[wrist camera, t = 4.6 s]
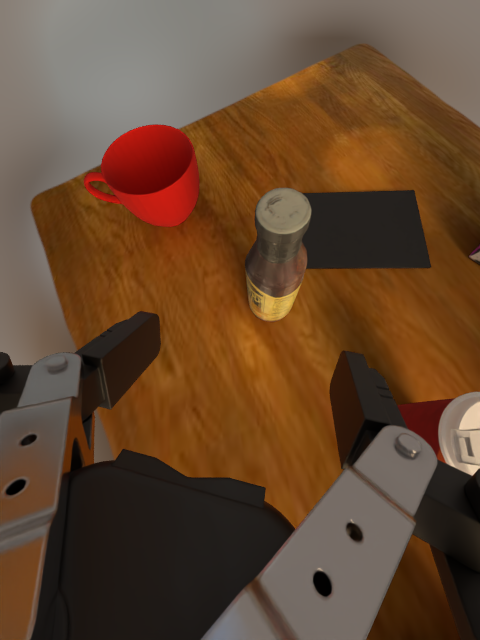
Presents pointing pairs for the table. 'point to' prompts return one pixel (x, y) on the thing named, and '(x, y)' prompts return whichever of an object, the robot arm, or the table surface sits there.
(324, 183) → the table surface
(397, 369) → the table surface
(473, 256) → the candy bar box
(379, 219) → the placemat
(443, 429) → the paper cup
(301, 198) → the sauce bottle
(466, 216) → the table surface
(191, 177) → the ceramic cup
